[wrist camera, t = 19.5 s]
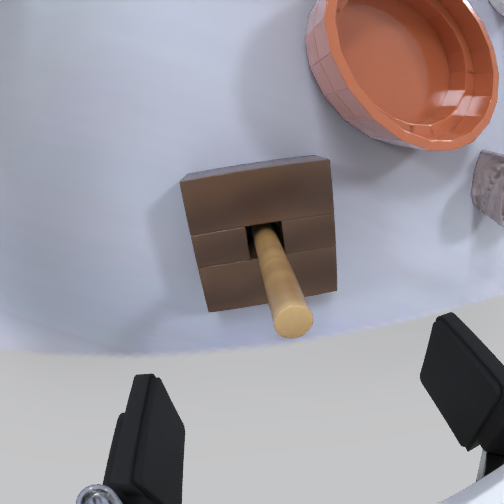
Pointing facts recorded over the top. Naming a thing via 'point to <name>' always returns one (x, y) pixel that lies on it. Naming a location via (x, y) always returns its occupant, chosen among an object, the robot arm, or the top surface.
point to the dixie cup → (498, 6)
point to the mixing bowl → (405, 69)
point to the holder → (259, 212)
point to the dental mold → (489, 185)
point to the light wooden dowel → (281, 285)
